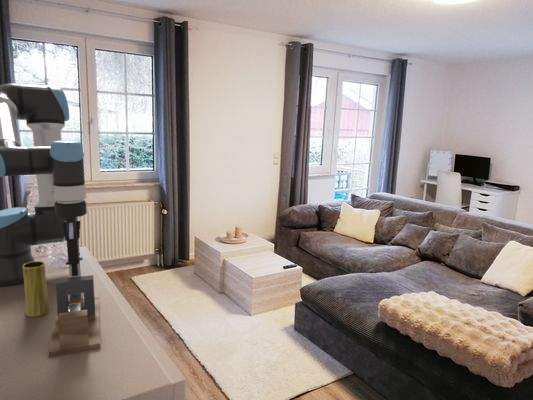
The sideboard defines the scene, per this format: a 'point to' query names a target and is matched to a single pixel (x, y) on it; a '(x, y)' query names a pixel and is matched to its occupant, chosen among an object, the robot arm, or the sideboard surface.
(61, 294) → the collar
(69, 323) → the wooden stand
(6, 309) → the sideboard surface
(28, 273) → the vase
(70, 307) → the light grey bar
